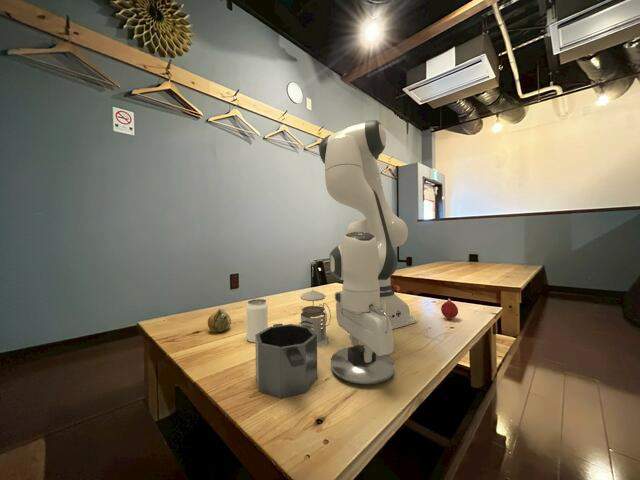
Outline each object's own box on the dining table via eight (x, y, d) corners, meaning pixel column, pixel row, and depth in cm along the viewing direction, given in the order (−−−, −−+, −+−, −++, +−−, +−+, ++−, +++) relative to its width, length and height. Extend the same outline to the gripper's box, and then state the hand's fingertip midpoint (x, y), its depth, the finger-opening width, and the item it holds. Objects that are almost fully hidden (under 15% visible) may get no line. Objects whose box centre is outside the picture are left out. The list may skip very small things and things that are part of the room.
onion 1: (236, 327, 89) (236, 305, 89) (222, 336, 82) (222, 311, 81) (217, 325, 91) (217, 303, 91) (202, 334, 83) (202, 310, 83)
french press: (314, 331, 85) (313, 258, 85) (339, 341, 77) (339, 260, 76) (291, 339, 78) (290, 260, 78) (316, 352, 70) (316, 263, 69)
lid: (371, 346, 70) (370, 332, 70) (408, 374, 56) (408, 356, 56) (321, 357, 64) (321, 341, 64) (349, 391, 50) (349, 370, 50)
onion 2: (461, 322, 92) (461, 301, 92) (445, 322, 93) (445, 301, 92) (453, 317, 98) (453, 297, 98) (438, 317, 98) (438, 297, 98)
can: (262, 344, 75) (262, 304, 75) (243, 342, 76) (242, 303, 76) (271, 335, 82) (270, 299, 81) (252, 334, 83) (252, 298, 83)
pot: (301, 353, 69) (301, 317, 69) (330, 399, 50) (329, 349, 49) (252, 362, 64) (252, 323, 64) (263, 416, 45) (262, 361, 45)
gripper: (400, 310, 51) (401, 376, 52) (352, 289, 70) (352, 338, 71) (374, 314, 49) (375, 383, 49) (331, 292, 68) (332, 342, 68)
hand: (361, 356), depth 60 cm, fingers closed on lid, 3 cm apart
